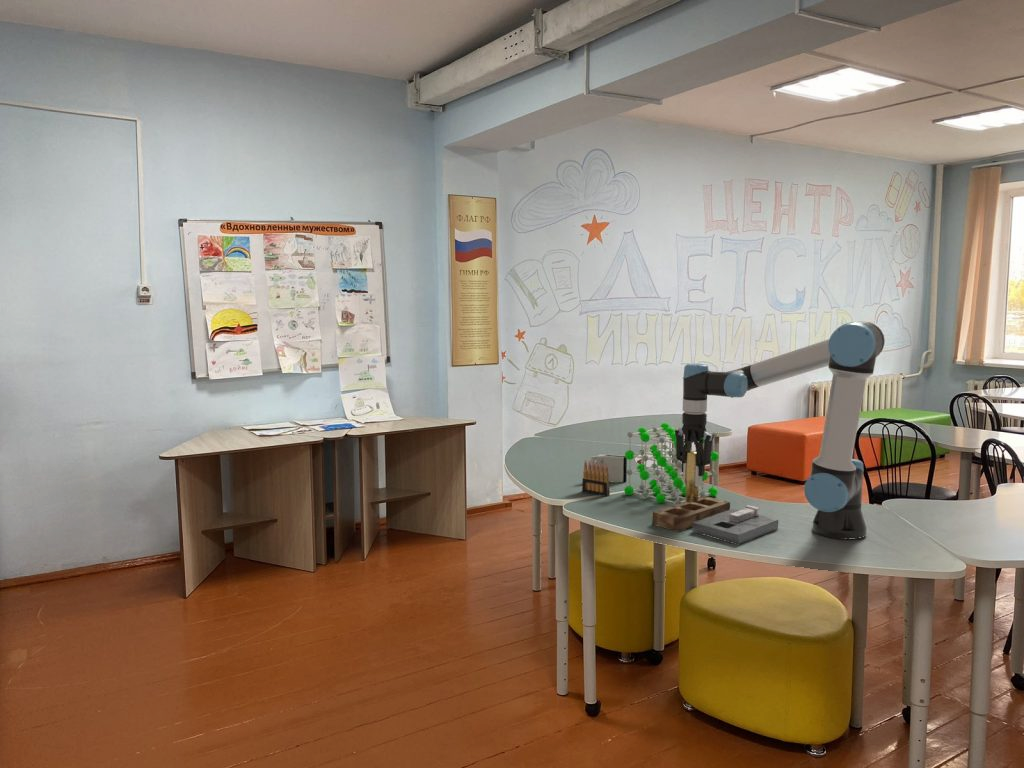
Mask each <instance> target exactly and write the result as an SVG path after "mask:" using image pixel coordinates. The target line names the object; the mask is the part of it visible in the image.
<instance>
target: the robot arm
mask: <svg viewBox="0 0 1024 768" xmlns="http://www.w3.org/2000/svg"><path fill="white" fill-rule="evenodd" d="M884 347H885V335H884V333H883V331H882V329H880V327H879V326H877V325H876V324H875V323H872V322H870V321H856V322H854V321H851V322H847V323H843V324H842V325H840V326H838V327H837V328H836V329H835V330H834V331H833V332H832V334H831V335H830V337H829V338H828V339H826V340H825V339H824V340H823V341H820V342H817V343H813V344H810V345H808V346H804V347H800V348H797V349H795V350H791V351H789V352H786V353H785V352H784V354H780V355H777V356H773V357H770V358H768V359H764V360H762V361H761V360H760V361H757V362H755V363H753V364H749V365H746V366H743V367H740V368H737V369H733V370H730V371H729V370H728V371H712V370H709V365H708V364H706V363H687V364H686V365H685V366H684V368H683V377H682V381H683V383H682V387H683V389H682V392H683V393H682V395H683V396H682V411H683V413H682V419H681V423H682V426H681V427H682V429H679V428H677V429H678V430H675V435H676V447H675V449H676V450H675V451H676V455H675V456H676V459H677V460H676V461H678V460H680V461H681V464H682V469H681V472H683V475H682V477H683V479H682V480H683V483H684V484H685V483H686V467H687V452H688V451H691V446H692V447H693V444H694V447H695V451H696V454H697V461H698V465H697V466H696V472H695V486H699V487H700V486H702V476H704V471H705V466H708V465H711V461H712V460H711V452H712V448H713V438H714V435H713V434H712V433H709V432H708V431H707V429H706V425H707V422H708V421H707V419H708V418H707V416H708V414H707V413H706V412H707V411H708V410H707V409H708V396H719V397H725V398H726V397H728V398H730V399H731V398H743V397H744V396H745V395H746V393H747V392H748V391H751V390H754V389H758V388H760V387H763V386H766V385H769V384H770V385H771V384H773V383H776V382H779V381H782V380H786V379H791V378H793V377H795V376H799V375H802V374H806V373H809V372H810V373H811V372H813V371H815V370H819V369H822V368H825V367H828V369H829V370H830V372H831V373H832V379H831V383H830V384H831V385H830V390H829V396H828V402H827V403H828V404H827V408H826V412H825V413H826V415H825V419H824V420H825V421H824V425H823V432H822V437H821V444H820V450H819V454H818V456H816V457H815V458H813V459H812V463H811V468H810V474H809V477H808V478H807V480H806V481H805V483H804V488H803V490H804V497H805V499H806V501H807V502H808V503H809V504H810V506H811V507H813V508H814V509H816V510H817V511H816V514H815V515H814V519H813V521H812V528H811V529H812V531H813V532H814V533H815V534H818V535H820V536H823V537H827V538H830V537H832V538H831V539H836V538H847V539H846V540H850V539H849V538H859V537H863V536H865V535H866V536H867V525H866V521H865V518H864V515H863V511H862V499H863V485H864V484H863V482H864V472H865V471H864V470H865V469H864V463H863V461H861V460H859V459H857V458H853V456H854V449H855V444H856V439H857V431H858V428H859V427H858V426H859V421H860V415H861V410H862V404H863V397H864V393H865V387H866V382H867V379H868V378H870V376H872V375H874V371H875V365H876V359H877V357H878V356H879V355H880V354H881V353H882V351H883V349H884ZM683 434H684V435H685V437H684V435H683ZM704 436H705V438H704V439H705V441H704V442H703V437H704ZM684 438H685V439H684ZM714 439H715V438H714ZM703 443H704V449H703ZM866 536H865V537H866Z"/></svg>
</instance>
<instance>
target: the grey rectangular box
mask: <svg viewBox="0 0 1024 768" xmlns="http://www.w3.org/2000/svg"><path fill="white" fill-rule="evenodd" d="M593 461H594V462H595V470H596V466H597V462H598V463H599V470H600V469H601V463H603V466H604V473H605V465H606V463H607V465H608V475H609V481H614V482H613V483H618V482H623V483H624V482H626V483H627V478H628V477H627V476H628V474H627V470H628V468H627V467H628V459H626V457H625V455H621V454H619V455H617V454H598V455H595V456H594V455H593V456H590V462H591V471H592V464H593Z"/></svg>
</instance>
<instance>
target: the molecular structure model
mask: <svg viewBox="0 0 1024 768" xmlns="http://www.w3.org/2000/svg"><path fill="white" fill-rule="evenodd" d="M682 427H683V426H680V427H678V428H675V427H670V424H669V423H668V422H662V423H661V425H660V427H656V426H653V427H652V428H651V429H648V430H647V428H646V427H643V426H641V427H639V428H638V430H637V432H634V433H633V432H632V431H628V432H627V436H628V450H627V451H625V453H624V456H625V457H626V459H627V461H628V469H627V476H628V485H627V486H625V487H624V490H623V491H624V493H625V495H627V496H632V495H633V494H636V495H640V496H642V497H643V498H653V499H655V500H656V502H657V503H658V504H664V503H665V502H667V503H672V504H675V505H677V504H680V503H684V502H687V501H686V483H683V472H682V462H681V461H680V460H677V459H676V435H675V430H678V429H682ZM661 432H662V433H661ZM717 433H718V432H715V431H712V433H711V434H713V435H714V438H713V440H712V451H711V461H712V466H711V470H710V471H707V470H704V476H702V485H701V488H699V491H701V492H699V493H698V498H700V497H703V496H706V497H707V496H708V495H709V496H710V497H711V498H714V497H716V496H718V493H719V491H718V489H717V488H716V487H715V486H714V485H715V480H714V479H715V478H714V477H715V476H716V475H717V472H716V470H715V462H716V461H718V460H719V458H720V455H719V453H718V452H717V451H715V438H717V437H718V434H717ZM683 435H684V434H683ZM632 437H633V438H635V437H636V438H640V440H641V442H640V443H641V445H640V446H641V449H640V450H639V452H634V451H633V450H631V449H632V447H631V442H632V441H631V438H632ZM704 438H705V436H704V437H703V442H704V441H705V439H704ZM684 439H685V435H684ZM650 440H652V441H653V445H651V446H650V447H649V449H647V446H648V445H647V443H648V442H649V441H650ZM667 443H668V444H669V445H667ZM672 445H673V447H672ZM659 446H660V447H659ZM703 449H704V443H703ZM667 450H668V451H667ZM691 451H693V445H692V446H691ZM639 455H640V456H639ZM648 455H650V456H648ZM634 458H639V459H640V462H641V463H640V464H638V465H637V467H636V469H633V470H632V469H631V460H633V459H634ZM647 461H651V462H653V463H652V464H651V465H650V466H647ZM671 461H672V462H671ZM652 469H653V470H652ZM676 469H677V470H676ZM633 474H634V475H638V476H639V477H640V480H641V481H640V484H639V486H638V487H637V488H634V487H633V486H631V475H633ZM663 475H664V476H663ZM709 476H711V487H709V488H708V490H705V489H704V487H705V486H704V481H707V479H708V477H709ZM649 478H652V479H650V480H649V482H648V485H647V480H648V479H649ZM663 484H664V485H663ZM665 484H668V485H667V486H665ZM639 490H641V491H643V492H638V491H639ZM647 491H650V492H647ZM664 491H671V492H670V493H669V492H668V493H667V492H664ZM656 495H657V496H656ZM666 495H667V496H666ZM680 495H682V496H680ZM683 495H684V497H683ZM668 498H669V499H668ZM670 498H676V499H675V500H670ZM680 499H682V501H681V500H680Z"/></svg>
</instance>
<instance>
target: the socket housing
mask: <svg viewBox="0 0 1024 768" xmlns="http://www.w3.org/2000/svg"><path fill="white" fill-rule="evenodd" d="M740 510H741V509H736V508H730V510H728V511H725V512H722V513H719V514H716V515H713V516H710V517H707V518H704V519H701V520H698V521H695V522H693V527H692V530H691V531H693V532H692V533H694V532H697V533H696V534H698V533H700V534H699V535H702V534H705V535H709V536H712V537H716V538H719V539H722V540H721V541H723V540H726V541H725V542H727V541H729V542H728V543H730V542H733V543H732V544H734V543H736V544H735V545H737V544H739V545H742V544H744V543H747V542H749V541H752V540H754V539H757V538H759V537H762V536H764V535H766V533H767V534H769V533H771V531H772V532H774V531H776V529H777V530H778V529H779V519H778V518H774V517H768V516H766V515H765V516H764V515H761V514H759V516H755V517H752V518H749V519H746V520H744V521H741V522H738V523H737V522H733V521H729V514H731V513H734V512H737V511H740ZM773 530H774V531H773ZM768 532H769V533H768ZM763 534H764V535H763ZM705 535H704V536H705ZM761 535H762V536H761ZM709 536H708V537H709ZM712 537H711V538H712ZM756 537H757V538H756ZM716 538H715V539H716ZM719 539H718V540H719ZM751 539H752V540H751ZM746 541H747V542H746ZM741 543H742V544H741Z"/></svg>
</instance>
